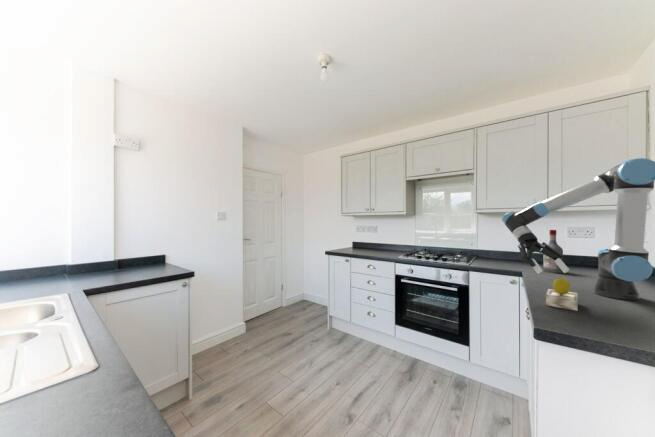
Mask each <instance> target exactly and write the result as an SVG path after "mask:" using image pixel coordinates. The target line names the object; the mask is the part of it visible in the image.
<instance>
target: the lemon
mask: <svg viewBox="0 0 655 437" xmlns="http://www.w3.org/2000/svg"><path fill="white" fill-rule="evenodd" d="M569 283H570V282H569V281H568V280H566V279H565V278H563V277H559V278H556V279H554V281H553V283H552V288H553V290H555V292H557V293H559V294H560V295H564V294H567V293H568V292H570V290H571V286H570V284H569Z"/></svg>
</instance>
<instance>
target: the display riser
mask: <svg viewBox="0 0 655 437" xmlns="http://www.w3.org/2000/svg"><path fill="white" fill-rule="evenodd" d="M578 297H579V296H578V293H577V292H571V291H569V292H568V293H567V294H564V295H560V294H559V293H557V292H555V290H554V289H552V288H548V289H547V291H546V294H545V305H546V306H548V307H549V306H550V307H554V308H559V309H560V308H561V309H565V310H571V311H575V312H576V311H577V312H578V305H579V304H578V303H579V302H578Z"/></svg>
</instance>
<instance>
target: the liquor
mask: <svg viewBox="0 0 655 437" xmlns="http://www.w3.org/2000/svg"><path fill="white" fill-rule="evenodd" d="M547 245H548V246H549V247H551V248H552V249H554V250H555V251H557V252H558V253H560V254H561V255H562V256H563V257H562V258H561V260H562V261H563V262H564V250H563V248H562V247H561V246H560V245H559V244H558V243H557V230H556V229H549V242H548V244H547ZM542 255H543V259H542V260H543V261H542V262H543V263H542V264H543V265H542V266H543V268H542V270H543V271H544V272H545V271H546V272H545V273H550V272H551V273H552V274H563V273H564V272H563V271H562V270H561V269H560V268H559V266H558V265H557V264H556V263H555V262H554V261H555V260H553V259H552V258H550V257H548V256H546V255H544V254H543V253H542ZM551 273H550V274H551Z"/></svg>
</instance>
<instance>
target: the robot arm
mask: <svg viewBox="0 0 655 437" xmlns="http://www.w3.org/2000/svg"><path fill="white" fill-rule="evenodd" d="M654 189H655V161H654V160H652V159H649V158H644V157H643V158H642V157H641V158H634V159H633V158H632V159H629V160H626V161H624V162H622V163H620V164H617V165H615V166H614V167H612V168H610V169H608V170H607V171H606V172H603V173H601V174H598V175H596V176H595V177H594V179H593V180H590V181H587V182H585V183H583V184H581V185H579V186H576V187H573V188H572V189H568V190H567V191H564V192H561V193H558V194H557V195H554V196H552V197H549V198H547V199H545V200H542V201H539V202H537V203H534V204H532V205H530V206H527V207H525V208H524V209H523V210H521V211H519V212H515V211H510V212H509V211H508V212H507V213H505V214H503V216H502V219H501V221H502V222H503V223H504V225H505V226H506V228H507V229H508V230H509V231H510V232H511V234H512V235H513V236H514V238H515V239H516V240H517V241H518V243H519V244H517V247H518V249H519V253H520V259H521V261H524V262H525V263H528V264H529V265H530V267H532V269H533V270H534V271H535V272H536V274H538V275H540V274H541V273H542V272H543V271H544V270H543V268H542V267H541V266H540V265H539V264H538V262H537V261H536V259H534V258H533V253H538V254H539V253H540V254H542V255H543V254H544V255H546V256H548V257H550V258H552V259H553V260H555V261H554V262H555V263H556V264H557V265H558V266H559V268H560V269H561V270H562V271H563V272H562V273H563V274H566V273H568V272H569V271H570V268H569V267H568V266H567V265H566V263H565V262H564V260H563V261H562V260H561V258H562V257H563V258H564V255H563V256H562V255H561V254H560V253H558V252H557V251H555V250H554V249H552V248H551V247H549V246H548V244H547V242H545V241H544V242H542V243H540V242H539V241H538V237H537V236H536V235H535V234H534V233H533V231H532V230H531V229H530V228H529V227H528V226H527V225H529V224H532V223H533V222H536V221H537V220H540V219H542V218H544V217H546V216H547V215H549V214H552V213H554V212H557V211H559V210H563V209H564V208H568V207H569V206H572V205H573V206H574V205H575V204H578V203H580V202H582V201H585V200H587V199H588V200H589V199H591V198H593V197H596V196H598V195H601V194H610V193H611V192H615V193H616V194H617V202H616V204H617V205H616V219H615V230H614V231H615V232H614V244H613V246H611V247H609V248H600V249H599V250H598V254H597V258H598V261H597V262H598V265H597V266H598V268H597V269H598V270H597V271H598V273H597V274H598V278H597V280H596V282H595V284H594V287H593V293H594V294H595V295H598V296H602V297H606V298H612V299H618V300H626V301H637V300H640V293H639V291H638V289H637V287H636V286H637V285H636V284H635V282H641V281H645V280H647V279H648V278H649V277H651V275H652V273H653V270H654V269H653V265H652V264H651V263H650V261H649V254H650V253H649V252H650V251H648V250H646V249H645V247H644V246H645V235H646V222H647V220H646V219H647V207H648V194H649V193H650V192H652V191H654Z"/></svg>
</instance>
